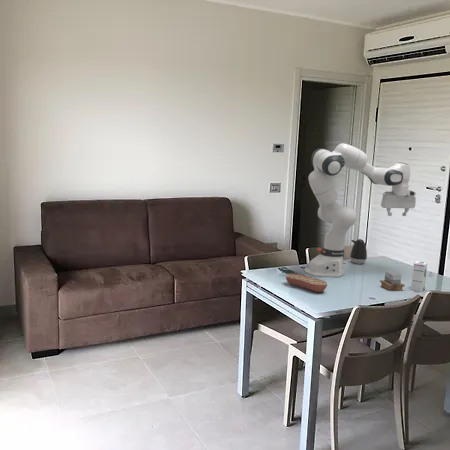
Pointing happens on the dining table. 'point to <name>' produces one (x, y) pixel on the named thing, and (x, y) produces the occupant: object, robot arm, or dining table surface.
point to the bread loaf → (306, 282)
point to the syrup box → (419, 276)
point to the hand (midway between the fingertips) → (396, 215)
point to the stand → (391, 286)
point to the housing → (393, 278)
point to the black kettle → (358, 252)
